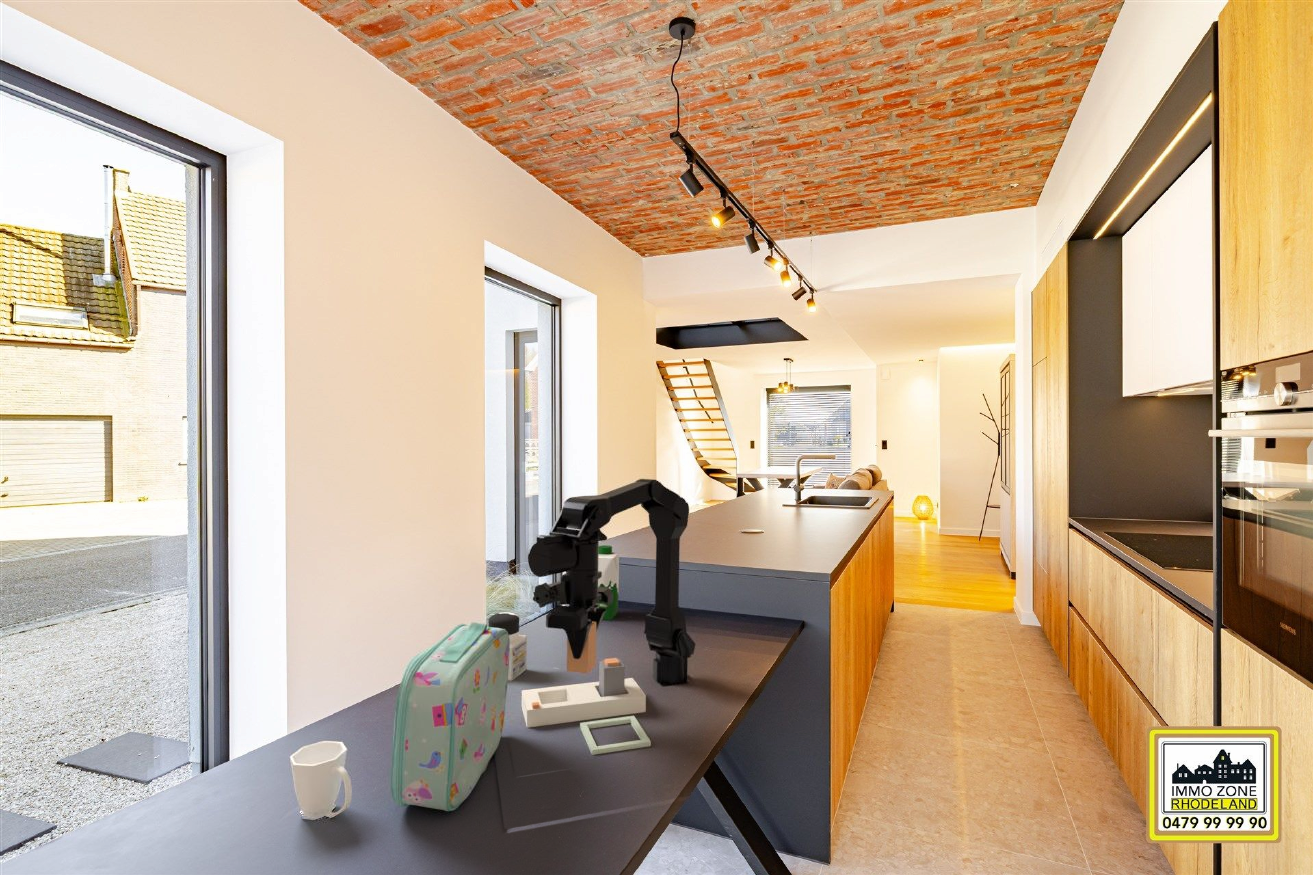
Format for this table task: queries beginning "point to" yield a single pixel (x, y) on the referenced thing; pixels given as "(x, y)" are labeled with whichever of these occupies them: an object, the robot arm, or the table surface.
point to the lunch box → (449, 717)
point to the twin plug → (611, 677)
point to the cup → (320, 778)
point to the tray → (618, 746)
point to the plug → (584, 654)
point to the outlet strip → (579, 703)
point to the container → (512, 642)
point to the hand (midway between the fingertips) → (581, 654)
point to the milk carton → (609, 578)
